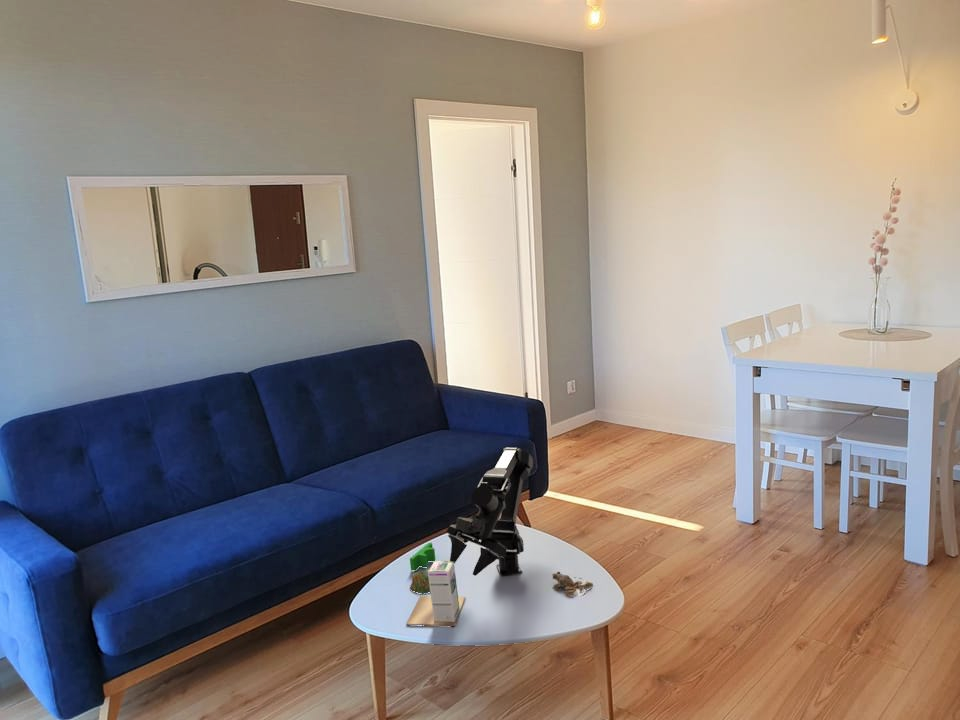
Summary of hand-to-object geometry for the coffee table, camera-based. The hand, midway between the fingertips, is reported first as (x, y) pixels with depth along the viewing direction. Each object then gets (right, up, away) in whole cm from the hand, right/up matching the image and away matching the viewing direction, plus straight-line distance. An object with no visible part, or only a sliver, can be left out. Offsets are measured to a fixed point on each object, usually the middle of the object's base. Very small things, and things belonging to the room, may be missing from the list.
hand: (462, 569), depth 199 cm
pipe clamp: (-12, -7, +29) cm, 32 cm away
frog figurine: (+30, -8, +8) cm, 32 cm away
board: (-7, -12, +1) cm, 13 cm away
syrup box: (-4, -12, -3) cm, 13 cm away
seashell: (-11, -9, +16) cm, 21 cm away
